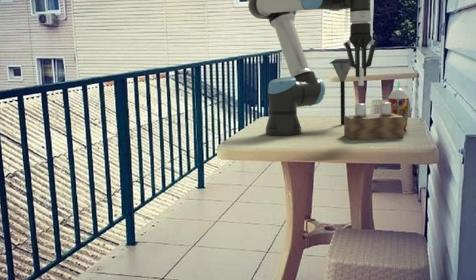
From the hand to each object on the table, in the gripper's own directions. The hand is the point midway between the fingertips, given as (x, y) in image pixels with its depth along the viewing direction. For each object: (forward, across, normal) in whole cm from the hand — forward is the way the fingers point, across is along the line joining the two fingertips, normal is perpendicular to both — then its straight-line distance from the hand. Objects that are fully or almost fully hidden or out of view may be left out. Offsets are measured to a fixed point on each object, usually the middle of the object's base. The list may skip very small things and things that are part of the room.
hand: (360, 85), depth 204 cm
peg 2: (+15, +10, 0) cm, 18 cm away
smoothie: (+21, +20, +14) cm, 32 cm away
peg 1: (+15, 0, 0) cm, 15 cm away
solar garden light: (+20, +2, +37) cm, 43 cm away
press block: (+20, +5, 0) cm, 21 cm away
